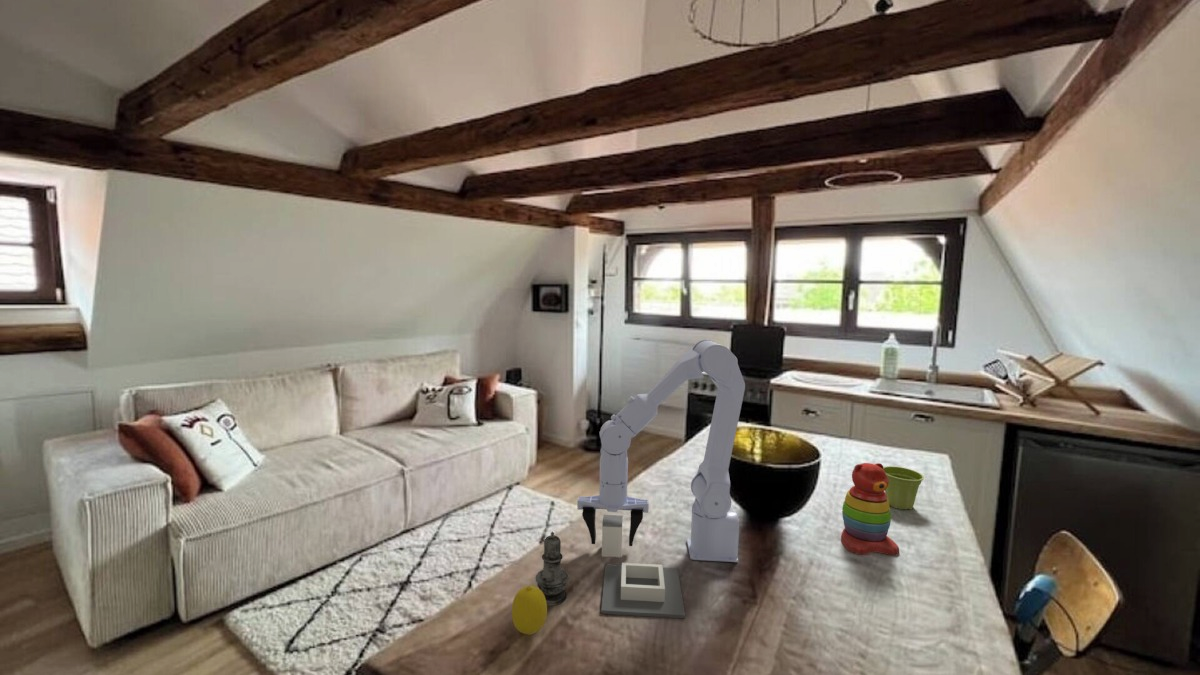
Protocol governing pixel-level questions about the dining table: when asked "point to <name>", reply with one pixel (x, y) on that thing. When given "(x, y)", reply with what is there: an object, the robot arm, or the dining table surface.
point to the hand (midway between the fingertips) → (612, 542)
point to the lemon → (529, 610)
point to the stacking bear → (868, 512)
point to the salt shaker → (552, 572)
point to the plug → (612, 536)
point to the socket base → (642, 591)
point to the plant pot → (902, 486)
